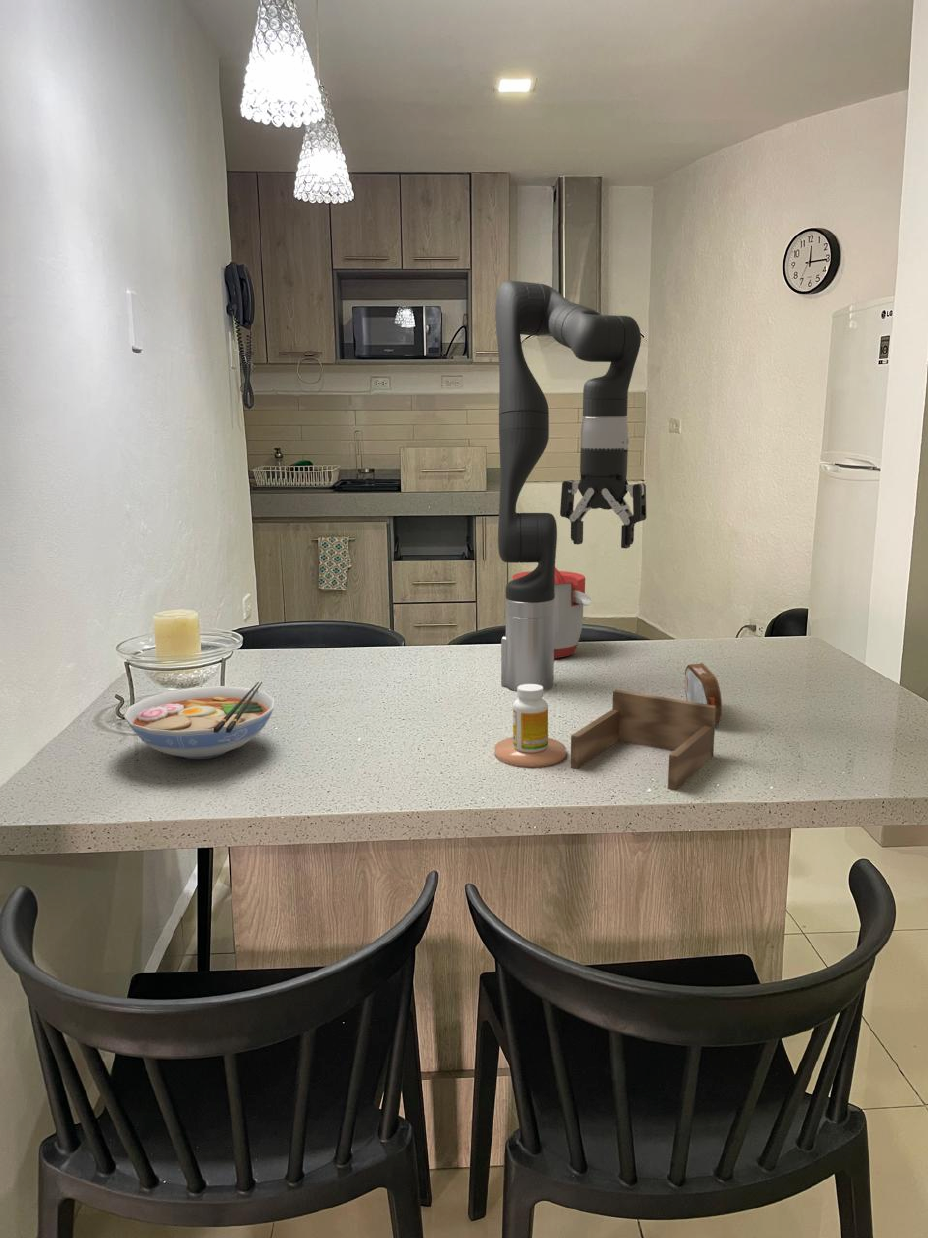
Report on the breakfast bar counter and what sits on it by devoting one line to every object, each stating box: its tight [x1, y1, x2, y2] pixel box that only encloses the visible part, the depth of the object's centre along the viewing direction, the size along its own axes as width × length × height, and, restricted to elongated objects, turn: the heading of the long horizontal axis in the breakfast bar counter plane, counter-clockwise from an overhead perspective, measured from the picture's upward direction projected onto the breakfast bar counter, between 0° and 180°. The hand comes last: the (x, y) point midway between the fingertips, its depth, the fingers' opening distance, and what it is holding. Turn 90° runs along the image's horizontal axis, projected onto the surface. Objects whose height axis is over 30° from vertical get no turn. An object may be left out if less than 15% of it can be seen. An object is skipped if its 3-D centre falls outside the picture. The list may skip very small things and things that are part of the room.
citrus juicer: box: [511, 567, 592, 660], centre depth 204 cm, size 16×17×20 cm
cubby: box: [570, 688, 716, 791], centre depth 143 cm, size 16×16×8 cm
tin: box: [684, 662, 723, 724], centre depth 164 cm, size 15×3×8 cm, turn 1°
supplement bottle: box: [512, 684, 549, 753], centre depth 146 cm, size 5×5×10 cm
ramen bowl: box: [123, 681, 275, 760], centre depth 148 cm, size 25×23×8 cm
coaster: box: [494, 736, 567, 768], centre depth 147 cm, size 11×11×1 cm
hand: (601, 545), depth 156 cm, fingers open, 8 cm apart
